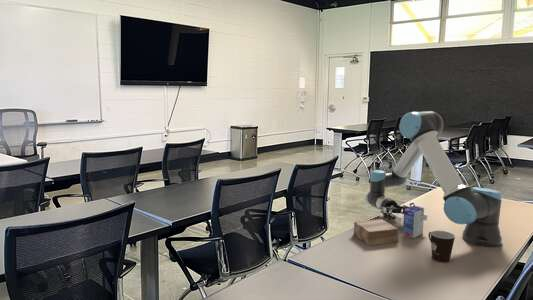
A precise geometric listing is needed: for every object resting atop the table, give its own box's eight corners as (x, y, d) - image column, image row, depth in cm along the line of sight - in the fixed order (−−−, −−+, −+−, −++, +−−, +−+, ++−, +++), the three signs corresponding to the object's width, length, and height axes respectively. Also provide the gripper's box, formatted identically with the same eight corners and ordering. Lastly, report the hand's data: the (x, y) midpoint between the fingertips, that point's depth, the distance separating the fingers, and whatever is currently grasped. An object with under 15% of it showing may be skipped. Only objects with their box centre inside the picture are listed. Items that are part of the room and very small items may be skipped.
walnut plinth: (397, 242, 171) (398, 228, 170) (368, 245, 168) (369, 231, 167) (380, 231, 184) (381, 219, 183) (353, 234, 180) (354, 221, 179)
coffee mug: (455, 264, 150) (457, 239, 148) (431, 262, 151) (433, 237, 150) (447, 252, 161) (449, 228, 159) (425, 250, 163) (427, 227, 161)
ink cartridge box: (411, 230, 186) (414, 200, 183) (423, 233, 182) (425, 202, 179) (401, 235, 179) (403, 204, 177) (413, 238, 175) (415, 207, 173)
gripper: (408, 210, 203) (436, 224, 183) (364, 214, 196) (388, 229, 176) (408, 196, 202) (437, 208, 182) (365, 200, 195) (389, 213, 175)
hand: (413, 219), depth 179 cm, fingers open, 13 cm apart
